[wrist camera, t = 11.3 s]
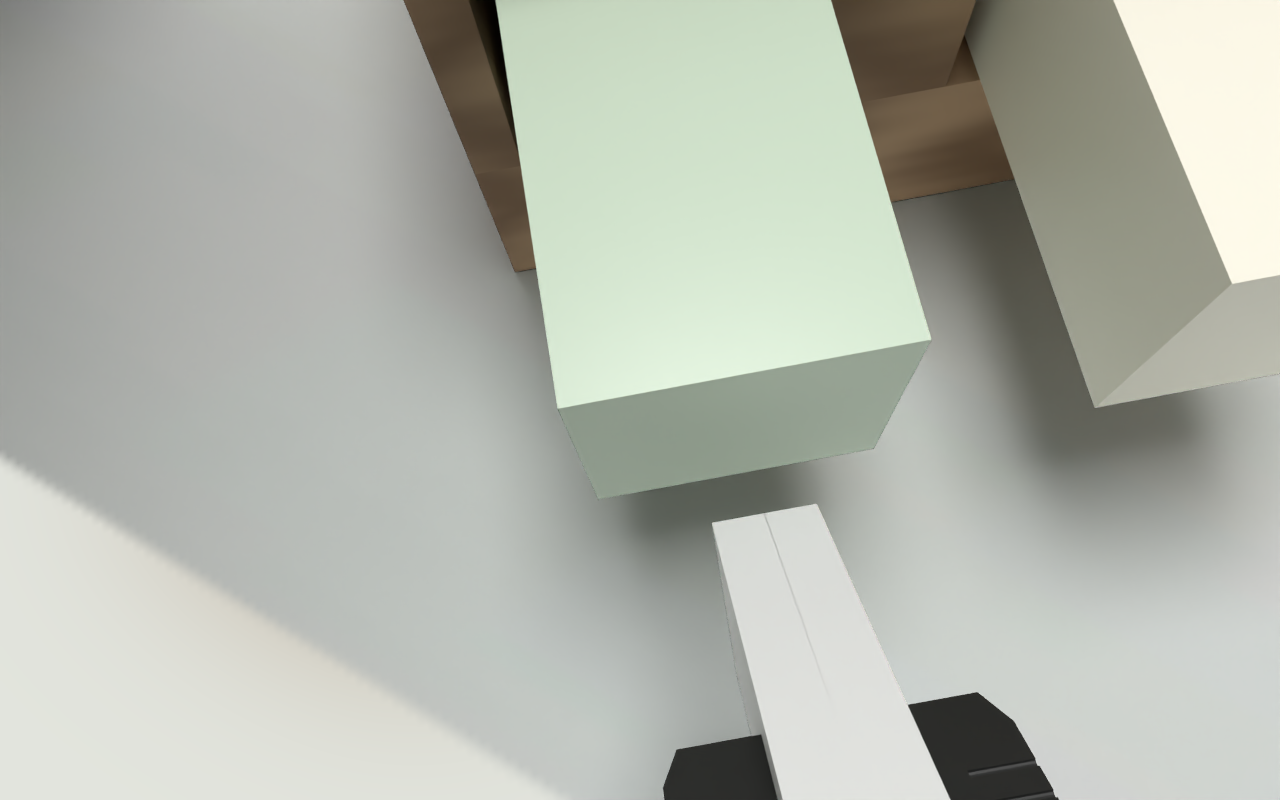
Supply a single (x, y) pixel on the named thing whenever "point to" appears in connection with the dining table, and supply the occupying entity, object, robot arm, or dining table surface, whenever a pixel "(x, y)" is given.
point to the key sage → (707, 235)
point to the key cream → (1146, 179)
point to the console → (880, 62)
